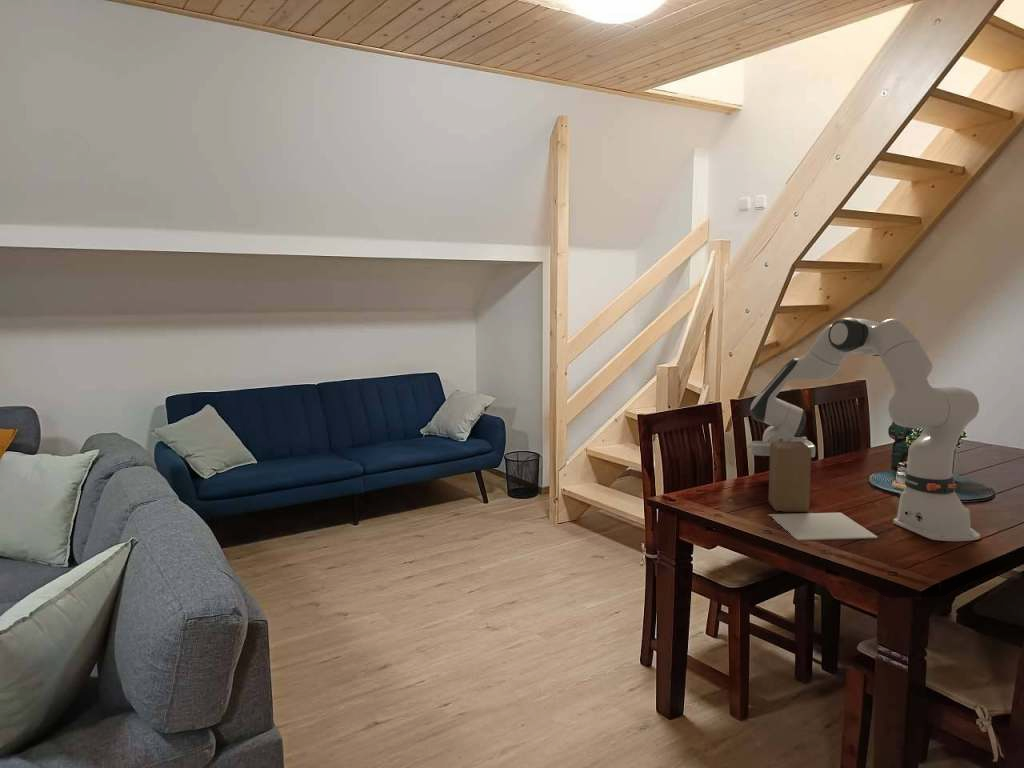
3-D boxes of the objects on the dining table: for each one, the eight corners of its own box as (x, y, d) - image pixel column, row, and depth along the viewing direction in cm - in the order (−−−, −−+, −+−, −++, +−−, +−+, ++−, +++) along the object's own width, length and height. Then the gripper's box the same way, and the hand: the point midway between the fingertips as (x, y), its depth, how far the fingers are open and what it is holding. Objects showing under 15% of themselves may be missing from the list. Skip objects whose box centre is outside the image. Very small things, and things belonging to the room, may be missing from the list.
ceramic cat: (885, 467, 271) (888, 414, 268) (893, 464, 275) (896, 412, 272) (942, 478, 255) (946, 422, 253) (950, 475, 259) (954, 419, 256)
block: (800, 503, 230) (802, 440, 227) (809, 513, 220) (812, 448, 217) (767, 502, 231) (769, 440, 228) (775, 512, 221) (777, 447, 218)
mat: (877, 538, 198) (877, 536, 198) (797, 540, 198) (797, 538, 197) (840, 513, 219) (840, 512, 219) (767, 515, 218) (767, 514, 218)
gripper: (747, 435, 250) (751, 444, 237) (811, 437, 246) (818, 446, 232) (747, 453, 251) (750, 463, 238) (810, 455, 246) (818, 465, 233)
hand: (784, 454), depth 235 cm, fingers closed
